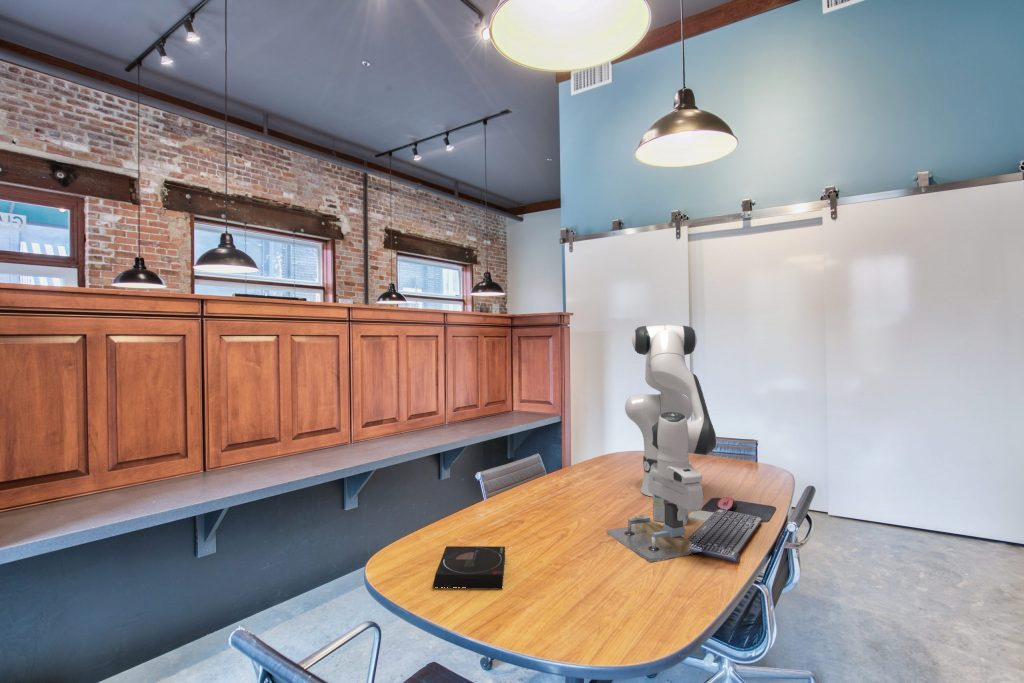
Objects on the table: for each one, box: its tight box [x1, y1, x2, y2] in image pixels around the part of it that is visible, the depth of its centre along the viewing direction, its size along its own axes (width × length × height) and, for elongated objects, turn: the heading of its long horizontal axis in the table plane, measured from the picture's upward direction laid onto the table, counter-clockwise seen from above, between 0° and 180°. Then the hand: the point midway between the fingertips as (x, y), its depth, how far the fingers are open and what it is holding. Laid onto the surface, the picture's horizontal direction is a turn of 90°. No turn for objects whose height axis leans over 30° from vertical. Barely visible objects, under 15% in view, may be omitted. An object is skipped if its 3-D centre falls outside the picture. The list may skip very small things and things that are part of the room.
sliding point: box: [652, 503, 686, 549], centre depth 142 cm, size 10×4×12 cm, turn 111°
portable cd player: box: [432, 545, 506, 589], centre depth 129 cm, size 16×17×4 cm
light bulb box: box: [652, 494, 689, 526], centre depth 166 cm, size 11×7×11 cm, turn 65°
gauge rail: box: [627, 514, 691, 553], centre depth 148 cm, size 9×22×4 cm, turn 21°
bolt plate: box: [606, 525, 692, 563], centre depth 148 cm, size 18×22×1 cm
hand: (673, 517), depth 143 cm, fingers closed on sliding point, 4 cm apart
